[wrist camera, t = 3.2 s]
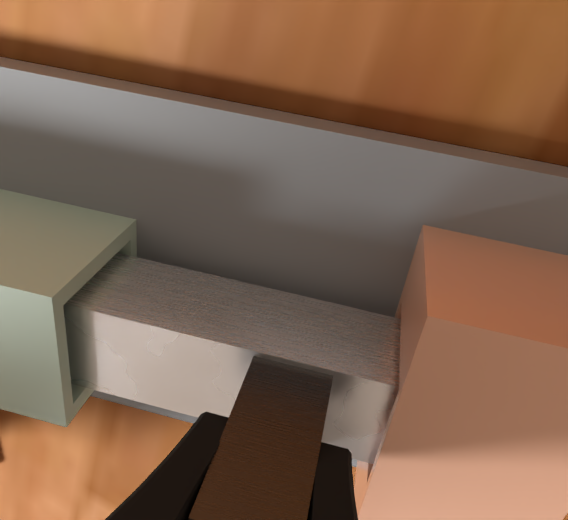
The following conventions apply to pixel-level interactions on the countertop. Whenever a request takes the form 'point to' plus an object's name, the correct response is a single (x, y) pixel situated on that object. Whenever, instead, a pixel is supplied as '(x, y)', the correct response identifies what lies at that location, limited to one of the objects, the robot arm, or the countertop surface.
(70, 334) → the sliding bolt
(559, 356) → the socket block
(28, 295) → the outer sleeve
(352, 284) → the base board
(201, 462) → the robot arm
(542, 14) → the countertop surface
